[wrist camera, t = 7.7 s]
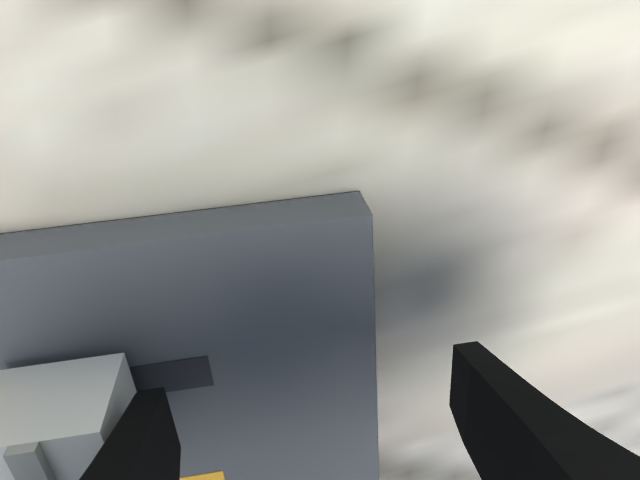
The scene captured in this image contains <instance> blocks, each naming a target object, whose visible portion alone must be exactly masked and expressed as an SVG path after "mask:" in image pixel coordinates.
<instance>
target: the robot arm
mask: <svg viewBox="0 0 640 480" xmlns="http://www.w3.org/2000/svg"><path fill="white" fill-rule="evenodd" d="M449 405H450V408H451V411H452V414H453V416H454V419H455V422H456V425H457V428H458V430H459V433H460V436H461V438H462V441H463V443H464V445H465V447H466V449H467V451H468V453H469V455H470V457H471V459H472V461H473V463H474V465H475V467H476V469H477V471H478V473H479V475H480V477H481V479H482V480H640V456H638V455H636V454H634V453H632V452H631V451H629V450H627V449H625V448H624V447H622V446H620V445H619V444H617V443H615V442H614V441H612V440H610V439H609V438H607V437H605V436H604V435H602V434H600V433H599V432H597V431H596V430H594V429H593V428H591V427H589V426H588V425H586V424H585V423H583V422H582V421H580V420H579V419H578V418H576V417H575V416H573V415H572V414H570V413H569V412H567V411H566V410H564V409H563V408H561V407H560V406H559V405H557V404H556V403H555V402H553V401H552V400H550V399H549V398H548V397H546V396H545V395H544V394H542V393H541V392H540V391H538V390H537V389H536V388H535V387H533V386H532V385H531V384H529V383H528V382H527V381H526V380H524V379H523V378H522V377H520V376H519V375H518V374H517V373H515V372H514V371H513V370H512V369H511V368H509V367H508V366H507V365H506V364H504V363H503V362H502V361H501V360H499V359H498V358H497V357H496V356H495V355H493V354H492V353H491V352H490V351H488V350H487V349H486V348H485V347H484V346H482V345H481V344H480V343H479V342H477V341H476V342H469V343H462V344H455V345H453V359H452V374H451V389H450V404H449ZM180 460H181V445H180V441H179V438H178V434H177V431H176V427H175V424H174V420H173V417H172V413H171V409H170V406H169V402H168V399H167V395H166V392H165V388H164V387H160V388H153V389H146V390H140V391H138V392H137V393H136V394H135V395H134V397H133V398H132V400H131V401H130V403H129V405H128V406H127V408H126V410H125V411H124V413H123V414H122V416H121V418H120V419H119V421H118V422H117V424H116V426H115V427H114V429H113V430H112V432H111V433H110V435H109V437H108V438H107V440H106V441H105V443H104V444H103V446H102V447H101V449H100V450H99V451H98V453H97V454H96V456H95V457H94V459H93V460H92V462H91V463H90V465H89V466H88V468H87V469H86V470H85V472H84V473H83V475H82V476H81V477H80V479H79V480H180Z"/></svg>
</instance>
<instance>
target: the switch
mask: <svg viewBox="0 0 640 480" xmlns="http://www.w3.org/2000/svg"><path fill="white" fill-rule="evenodd" d="M136 393H137V391H136V388H135V385H134V382H133V378H132V375H131V372H130V369H129V366H128V363H127V360H126V357H125V353H117V354H110V355H103V356H96V357H89V358H82V359H75V360H68V361H61V362H54V363H47V364H39V365H32V366H25V367H18V368H11V369H4V370H0V480H79V479H80V477H81V476H82V475H83V473H84V472H85V470H86V469H87V468H88V466H89V465H90V463H91V462H92V460H93V459H94V457H95V456H96V454H97V453H98V451H99V450H100V449H101V447H102V446H103V444H104V443H105V441H106V440H107V438H108V437H109V435H110V433H111V432H112V430H113V429H114V427H115V426H116V424H117V422H118V421H119V419H120V418H121V416H122V414H123V413H124V411H125V410H126V408H127V406H128V405H129V403H130V401H131V400H132V398H133V397H134V395H135V394H136Z"/></svg>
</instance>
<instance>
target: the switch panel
mask: <svg viewBox="0 0 640 480" xmlns="http://www.w3.org/2000/svg"><path fill="white" fill-rule="evenodd" d="M117 353H125V357H126V360H127V363H128V366H129V369H130V372H131V375H132V378H133V382H134V385H135V388H136V391H137V392H138V391H140V390H146V389H153V388H160V387H164V388H165V392H166V395H167V399H168V402H169V406H170V409H171V413H172V417H173V420H174V424H175V427H176V431H177V434H178V438H179V441H180V445H181V460H180V480H379V457H378V419H377V381H376V343H375V305H374V267H373V229H372V213H371V212H370V210H369V208H368V206H367V204H366V202H365V200H364V199H363V197H362V195H361V193H360V191H356V192H348V193H339V194H331V195H323V196H314V197H306V198H298V199H289V200H281V201H272V202H264V203H256V204H247V205H239V206H231V207H222V208H214V209H205V210H197V211H189V212H180V213H172V214H164V215H155V216H147V217H138V218H130V219H122V220H113V221H105V222H97V223H88V224H80V225H72V226H63V227H55V228H46V229H38V230H30V231H21V232H13V233H5V234H0V370H4V369H11V368H18V367H25V366H32V365H39V364H47V363H54V362H61V361H68V360H75V359H82V358H89V357H96V356H103V355H110V354H117Z"/></svg>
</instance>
